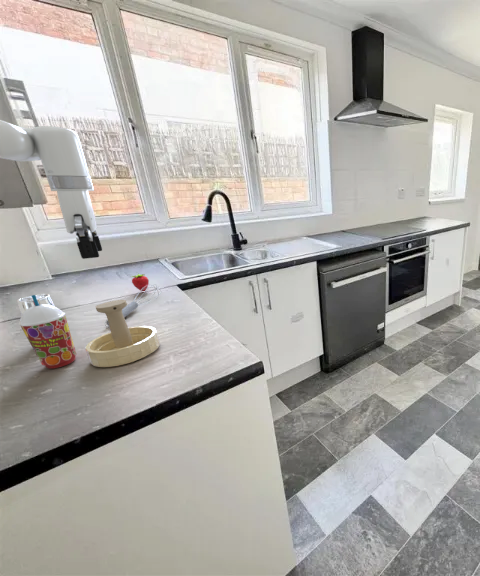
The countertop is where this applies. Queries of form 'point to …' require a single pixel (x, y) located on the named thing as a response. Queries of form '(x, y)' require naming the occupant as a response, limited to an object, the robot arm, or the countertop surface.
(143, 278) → the strawberry
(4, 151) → the robot arm
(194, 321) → the countertop surface
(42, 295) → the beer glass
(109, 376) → the countertop surface
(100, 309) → the handle
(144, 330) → the bowl
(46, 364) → the smoothie
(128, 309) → the kitchen whisk
